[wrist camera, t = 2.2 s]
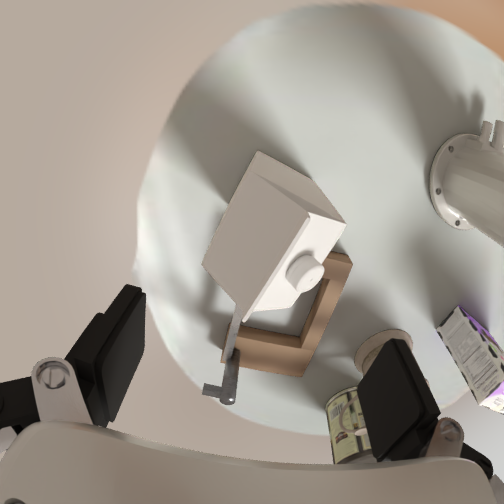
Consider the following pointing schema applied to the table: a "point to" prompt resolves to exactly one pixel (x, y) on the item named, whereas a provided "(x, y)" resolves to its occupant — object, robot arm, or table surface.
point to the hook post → (226, 381)
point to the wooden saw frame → (301, 348)
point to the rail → (233, 333)
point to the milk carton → (272, 237)
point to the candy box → (475, 357)
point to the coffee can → (348, 444)
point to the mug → (366, 358)
